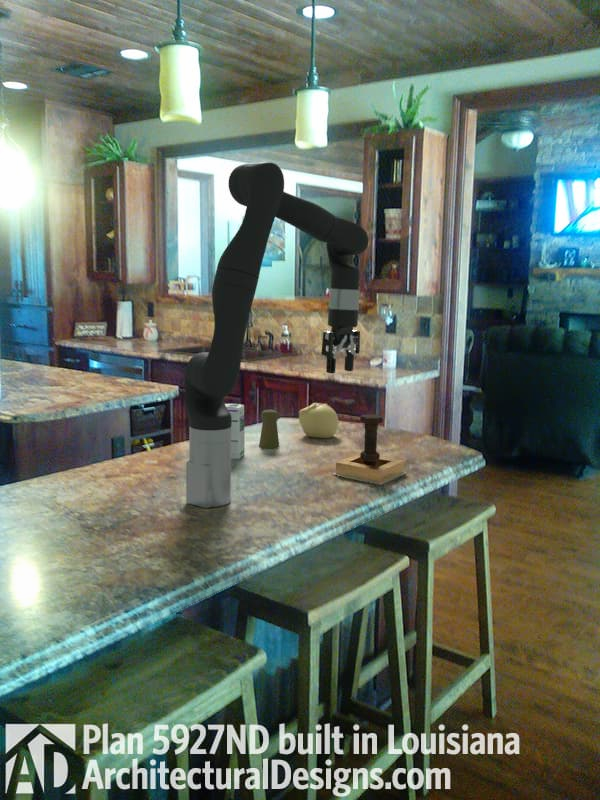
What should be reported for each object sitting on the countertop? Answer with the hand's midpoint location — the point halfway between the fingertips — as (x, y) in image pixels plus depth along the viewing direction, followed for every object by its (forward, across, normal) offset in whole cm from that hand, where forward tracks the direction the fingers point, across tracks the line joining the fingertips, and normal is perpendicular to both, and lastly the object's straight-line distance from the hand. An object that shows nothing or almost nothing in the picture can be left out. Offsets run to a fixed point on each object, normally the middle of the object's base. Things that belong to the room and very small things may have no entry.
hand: (339, 371), depth 183 cm
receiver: (+26, +6, -8) cm, 28 cm away
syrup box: (+27, -4, +31) cm, 42 cm away
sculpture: (+26, +33, +27) cm, 50 cm away
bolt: (+26, +5, -8) cm, 28 cm away
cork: (+27, +12, +31) cm, 42 cm away
